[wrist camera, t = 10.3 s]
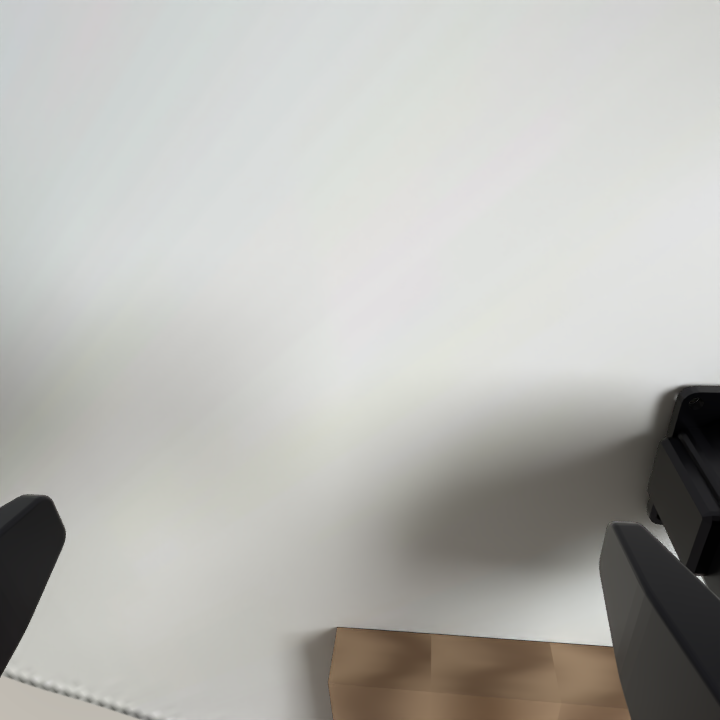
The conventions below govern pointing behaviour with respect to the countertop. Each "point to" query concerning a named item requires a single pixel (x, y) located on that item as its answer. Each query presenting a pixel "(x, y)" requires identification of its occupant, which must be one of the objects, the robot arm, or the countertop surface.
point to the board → (470, 678)
